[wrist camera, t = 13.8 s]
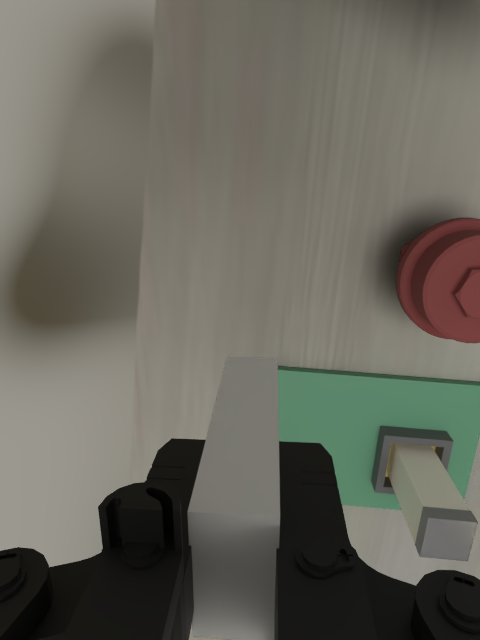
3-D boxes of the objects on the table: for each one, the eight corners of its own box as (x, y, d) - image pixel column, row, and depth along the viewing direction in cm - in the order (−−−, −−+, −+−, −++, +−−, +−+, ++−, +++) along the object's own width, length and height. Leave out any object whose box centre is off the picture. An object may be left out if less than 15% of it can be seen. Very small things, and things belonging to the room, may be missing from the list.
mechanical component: (487, 208, 43) (479, 310, 46) (379, 215, 44) (377, 315, 47) (569, 219, 31) (550, 356, 34) (418, 228, 32) (413, 361, 35)
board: (258, 364, 49) (257, 377, 46) (487, 382, 48) (501, 396, 45) (248, 490, 54) (247, 509, 51) (456, 509, 53) (468, 529, 50)
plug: (391, 439, 50) (428, 517, 38) (429, 442, 49) (477, 522, 38) (386, 471, 51) (419, 556, 39) (423, 474, 51) (467, 561, 39)
